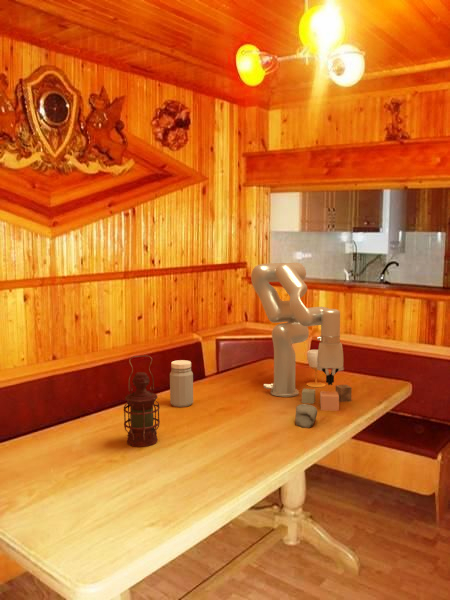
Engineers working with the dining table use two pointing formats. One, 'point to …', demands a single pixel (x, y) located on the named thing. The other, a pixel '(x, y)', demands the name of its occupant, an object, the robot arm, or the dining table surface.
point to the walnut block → (344, 392)
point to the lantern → (141, 411)
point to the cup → (314, 367)
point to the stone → (305, 415)
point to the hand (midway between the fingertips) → (329, 384)
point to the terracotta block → (329, 401)
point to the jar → (181, 383)
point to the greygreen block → (308, 396)
